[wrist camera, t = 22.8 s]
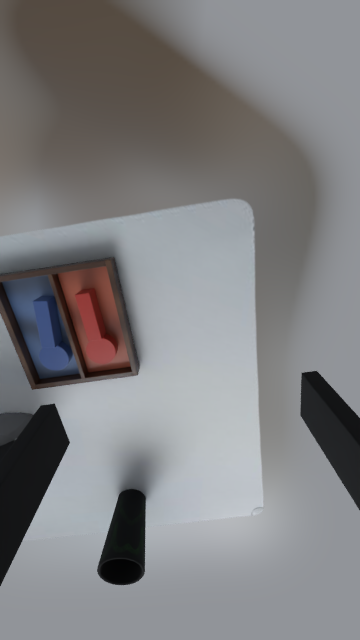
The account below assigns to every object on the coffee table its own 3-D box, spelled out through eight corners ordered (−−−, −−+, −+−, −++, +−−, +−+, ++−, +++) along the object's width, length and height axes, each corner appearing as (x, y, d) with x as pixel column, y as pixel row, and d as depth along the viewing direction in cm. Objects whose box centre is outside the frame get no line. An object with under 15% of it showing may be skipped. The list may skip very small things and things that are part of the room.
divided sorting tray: (-4, 274, 37) (-15, 278, 35) (114, 257, 36) (110, 259, 34) (38, 381, 43) (32, 389, 41) (139, 368, 43) (137, 375, 41)
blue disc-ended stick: (32, 295, 37) (23, 300, 35) (64, 295, 37) (56, 301, 35) (46, 365, 41) (38, 374, 39) (74, 365, 42) (68, 374, 39)
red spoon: (72, 291, 37) (65, 296, 35) (102, 286, 37) (97, 291, 35) (93, 360, 41) (88, 369, 39) (120, 356, 41) (117, 365, 39)
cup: (110, 507, 55) (93, 581, 43) (117, 482, 52) (101, 554, 41) (145, 513, 56) (138, 588, 44) (154, 489, 53) (149, 561, 42)
